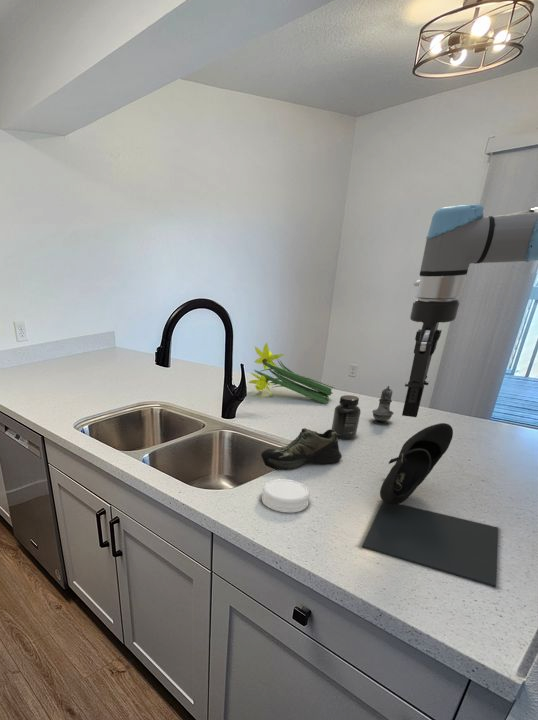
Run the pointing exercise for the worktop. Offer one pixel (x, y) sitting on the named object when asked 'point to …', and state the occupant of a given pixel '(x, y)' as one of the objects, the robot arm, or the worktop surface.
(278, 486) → the coaster
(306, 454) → the hiking shoe
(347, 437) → the supplement bottle
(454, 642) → the worktop surface
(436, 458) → the high-heeled shoe
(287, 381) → the daffodil flowers
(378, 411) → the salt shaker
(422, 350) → the robot arm
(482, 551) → the mat
